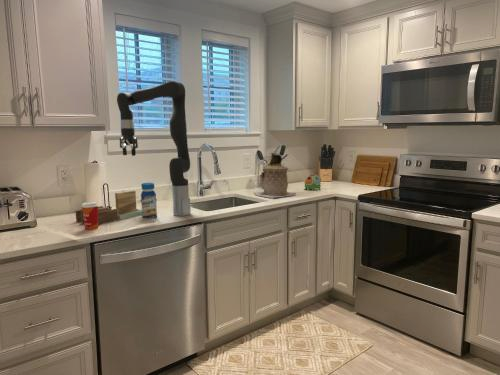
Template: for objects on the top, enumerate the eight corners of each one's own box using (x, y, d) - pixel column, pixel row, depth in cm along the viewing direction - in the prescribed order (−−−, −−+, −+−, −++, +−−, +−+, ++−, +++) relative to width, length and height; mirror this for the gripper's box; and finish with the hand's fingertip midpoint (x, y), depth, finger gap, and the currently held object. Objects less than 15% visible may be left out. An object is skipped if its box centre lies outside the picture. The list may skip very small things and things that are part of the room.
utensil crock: (298, 195, 276) (298, 152, 271) (271, 199, 262) (271, 153, 257) (277, 191, 296) (276, 150, 291) (251, 194, 282) (250, 152, 277)
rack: (118, 222, 200) (117, 209, 199) (91, 228, 188) (90, 214, 187) (102, 219, 209) (101, 206, 208) (76, 224, 197) (75, 210, 196)
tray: (145, 216, 213) (144, 210, 213) (120, 222, 201) (120, 215, 200) (132, 214, 221) (132, 207, 220) (108, 219, 208) (107, 212, 208)
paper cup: (81, 230, 184) (79, 203, 182) (98, 228, 189) (96, 201, 187) (85, 234, 178) (83, 205, 176) (102, 231, 182) (100, 203, 180)
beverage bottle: (159, 217, 211) (158, 182, 208) (153, 220, 203) (151, 184, 200) (145, 217, 213) (143, 182, 210) (139, 220, 205) (136, 184, 202)
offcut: (107, 219, 201) (106, 207, 200) (90, 223, 193) (89, 211, 192) (105, 219, 202) (104, 207, 202) (87, 222, 195) (86, 210, 194)
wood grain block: (136, 215, 214) (135, 191, 212) (119, 218, 206) (118, 193, 203) (133, 214, 216) (132, 190, 214) (116, 218, 207) (115, 193, 205)
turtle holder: (326, 188, 306) (327, 174, 305) (314, 191, 294) (314, 176, 292) (314, 187, 315) (314, 173, 313) (301, 190, 302) (301, 175, 300)
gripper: (140, 127, 218) (142, 155, 221) (125, 127, 227) (127, 154, 229) (129, 127, 212) (131, 156, 215) (114, 127, 221) (116, 155, 223)
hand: (129, 155), depth 222 cm, fingers open, 8 cm apart
